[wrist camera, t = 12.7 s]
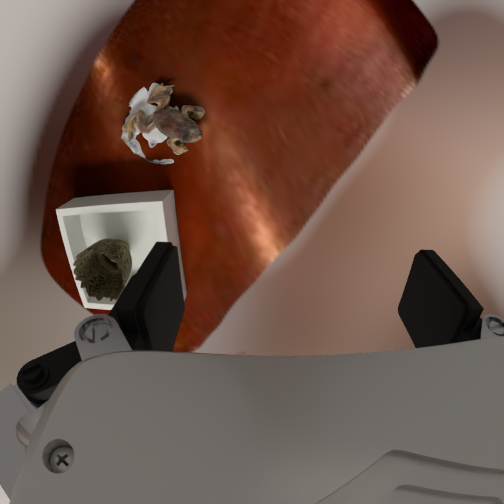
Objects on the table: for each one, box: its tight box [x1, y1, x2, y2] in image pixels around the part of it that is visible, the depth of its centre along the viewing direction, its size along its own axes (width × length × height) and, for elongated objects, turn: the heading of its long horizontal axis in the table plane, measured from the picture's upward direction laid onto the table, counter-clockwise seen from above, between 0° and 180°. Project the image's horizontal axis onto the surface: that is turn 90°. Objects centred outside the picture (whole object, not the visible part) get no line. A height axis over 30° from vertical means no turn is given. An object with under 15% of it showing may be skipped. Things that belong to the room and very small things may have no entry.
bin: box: [56, 190, 187, 310], centre depth 39 cm, size 16×16×5 cm
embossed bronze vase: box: [73, 238, 132, 301], centre depth 36 cm, size 8×7×8 cm
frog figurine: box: [121, 83, 205, 164], centre depth 32 cm, size 12×12×4 cm
